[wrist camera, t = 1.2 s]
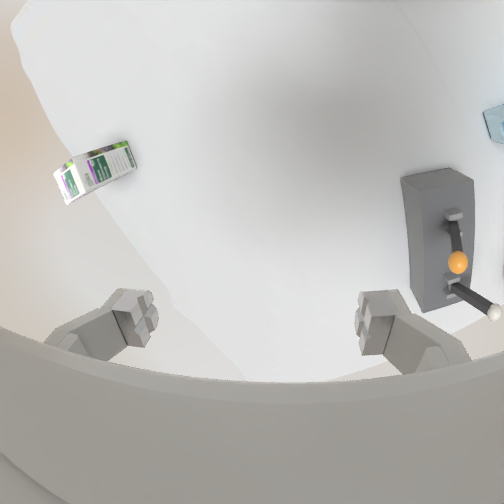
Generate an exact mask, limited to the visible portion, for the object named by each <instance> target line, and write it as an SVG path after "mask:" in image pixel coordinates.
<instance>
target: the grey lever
mask: <svg viewBox="0 0 504 504" xmlns="http://www.w3.org/2000/svg"><path fill="white" fill-rule="evenodd" d="M448 290H449V291H450V292H452V293H454V294H455V295H457V296H458V297H460V298H461V299H463V300H465V301H466V302H468V303H469V304H471V305H472V306H474V307H475V308H477V309H478V310H480V311H481V312H483V313H484V314H486V315H487V316H488V318H489V319H490V320H491V321H497V320H498V319H499V318H500V317H501V315H502V309H501V306H500V305H499V304H493V303H492V302H490V301H489V300H487V299H485V298H484V297H482V296H481V295H479V294H477V293H476V292H474V291H472V290H471V289H469V288H467V287H466V286H464V285H462V284H461V283H459V282H455V283H452V284H449V285H448Z"/></svg>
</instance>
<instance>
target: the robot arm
mask: <svg viewBox="0 0 504 504" xmlns="http://www.w3.org/2000/svg"><path fill="white" fill-rule="evenodd" d="M153 300H154V299H153V295H152V293H151V292H150V291H149V290H136V289H121V288H120V289H117V290H116V291H115V292H114V293H113V295H112V296H111V297H110V298H109V299H108V300H107V301H106V302H105V303H104V305H103V306H102V307H101V308H100V309H95V310H93V311H91V312H89V313H87V314H85V315H83V316H80V317H78V318H76V319H74V320H72V321H70V322H68V323H66V324H64V325H62V326H60V327H58V328H56V329H55V330H54V331H53V332H52V333H51V334H50V335H49V337H48V338H47V339H46V340H45V341H44V342H43V343H41V342H38V341H36V340H33V339H30V338H27V337H25V336H22V335H20V334H17V333H14V332H12V331H10V330H7V329H5V328H3V327H1V326H0V504H504V351H503V352H500V353H497V354H493V355H490V356H487V357H483V358H479V359H476V360H471V358H470V357H469V355H468V353H467V351H466V349H465V348H464V346H463V344H462V342H461V341H460V340H458V339H456V338H455V337H453V336H452V335H450V334H448V333H447V332H445V331H443V330H442V329H440V328H438V327H437V326H435V325H433V324H432V323H430V322H428V321H427V320H425V319H423V318H422V317H420V316H418V315H417V314H412V313H411V311H410V310H409V308H408V306H407V304H406V302H405V301H404V299H403V297H402V295H401V294H400V292H399V290H397V289H392V290H383V291H368V292H360V294H359V297H358V304H359V308H358V310H357V311H356V316H355V330H356V334H357V335H358V336H359V337H360V340H359V346H360V350H361V354H362V356H363V355H379V354H383V355H384V356H385V357H386V358H387V359H388V360H389V361H390V362H391V363H392V364H393V365H394V366H395V367H396V368H397V369H398V370H399V371H400V372H401V373H402V374H403V375H396V376H390V377H381V378H373V379H362V380H352V381H351V380H350V381H336V382H308V383H275V382H248V381H230V380H219V379H208V378H199V377H190V376H182V375H174V374H168V373H162V372H156V371H150V370H144V369H139V368H134V367H129V366H124V365H120V364H115V363H111V362H107V361H108V360H110V359H111V358H112V357H114V356H115V355H116V354H118V353H119V352H121V351H122V350H123V349H125V348H126V347H127V346H135V347H143V348H145V346H146V344H147V342H148V341H149V339H150V337H151V336H150V332H152V331H154V330H155V329H156V327H157V324H158V319H159V318H158V312H157V308H156V307H155V306H154V305H153V304H152V302H153Z"/></svg>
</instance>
